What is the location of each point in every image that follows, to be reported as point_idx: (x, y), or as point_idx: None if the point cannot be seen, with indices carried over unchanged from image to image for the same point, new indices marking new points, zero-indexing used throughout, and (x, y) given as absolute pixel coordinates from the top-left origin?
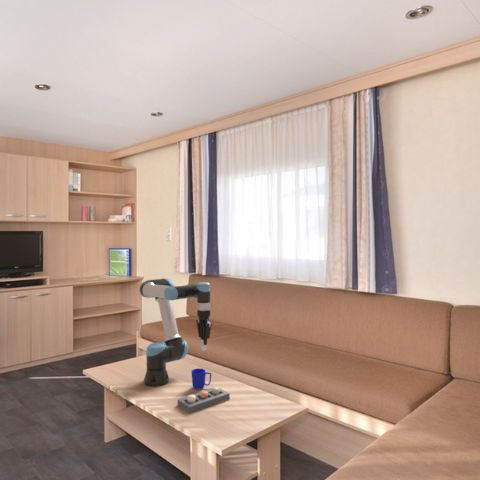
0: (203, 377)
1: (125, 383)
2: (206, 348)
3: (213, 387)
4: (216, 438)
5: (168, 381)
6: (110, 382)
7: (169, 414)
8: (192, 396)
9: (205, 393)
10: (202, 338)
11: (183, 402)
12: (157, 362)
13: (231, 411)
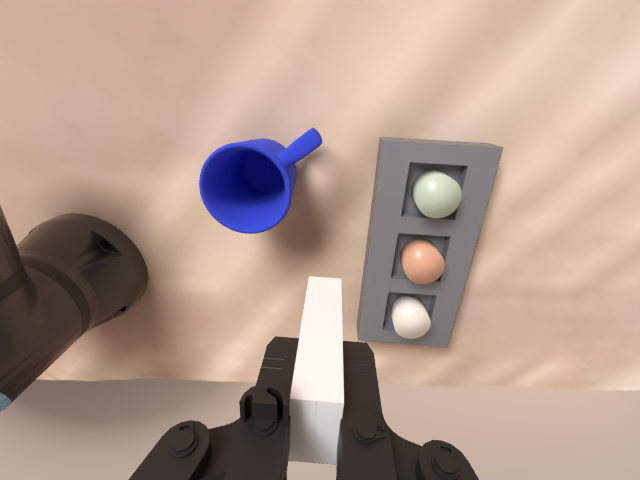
0: (292, 174)
1: None
2: (341, 293)
3: (418, 197)
4: (633, 369)
5: (120, 232)
6: None
7: (394, 373)
8: (416, 322)
9: (439, 269)
10: (288, 452)
11: (397, 340)
12: (53, 352)
13: (577, 225)
